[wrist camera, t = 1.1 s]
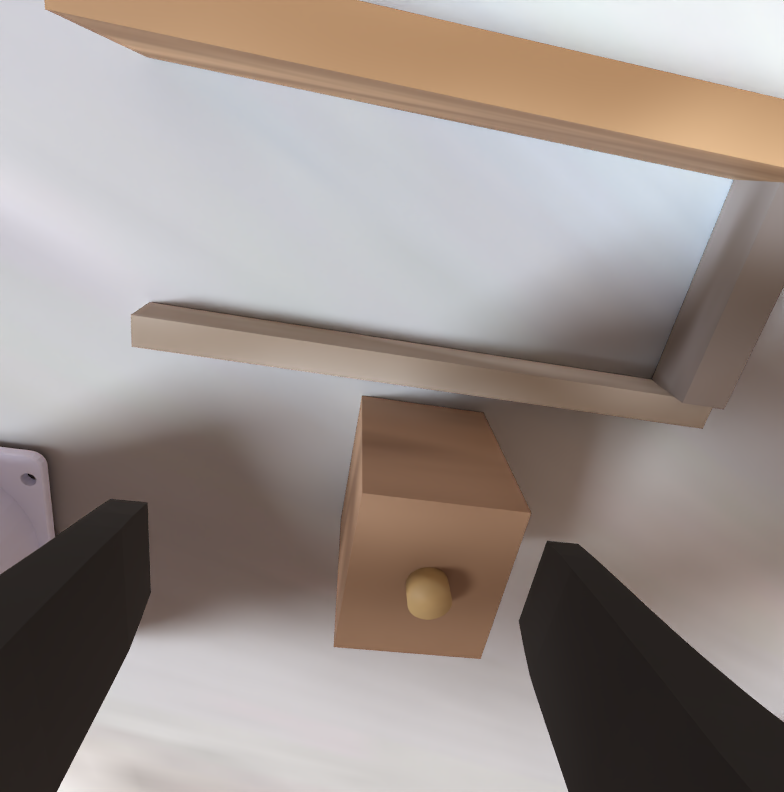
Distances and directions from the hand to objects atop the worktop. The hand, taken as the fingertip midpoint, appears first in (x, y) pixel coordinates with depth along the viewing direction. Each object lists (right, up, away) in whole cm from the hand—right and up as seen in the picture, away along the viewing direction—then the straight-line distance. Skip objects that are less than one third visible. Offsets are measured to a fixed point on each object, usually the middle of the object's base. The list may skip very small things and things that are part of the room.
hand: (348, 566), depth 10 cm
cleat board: (+3, +8, +7) cm, 11 cm away
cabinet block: (+1, 0, +11) cm, 11 cm away
